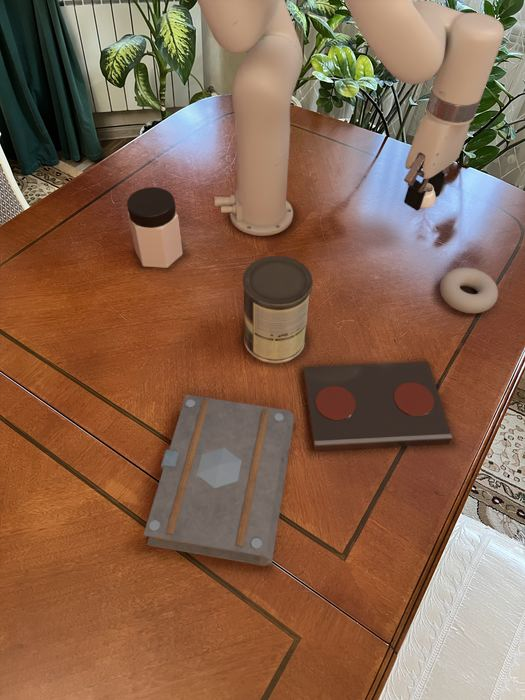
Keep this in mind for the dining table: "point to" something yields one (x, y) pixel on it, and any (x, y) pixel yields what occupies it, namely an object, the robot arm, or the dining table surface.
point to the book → (222, 481)
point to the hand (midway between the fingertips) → (421, 198)
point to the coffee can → (276, 308)
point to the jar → (154, 227)
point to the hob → (374, 406)
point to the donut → (464, 300)
